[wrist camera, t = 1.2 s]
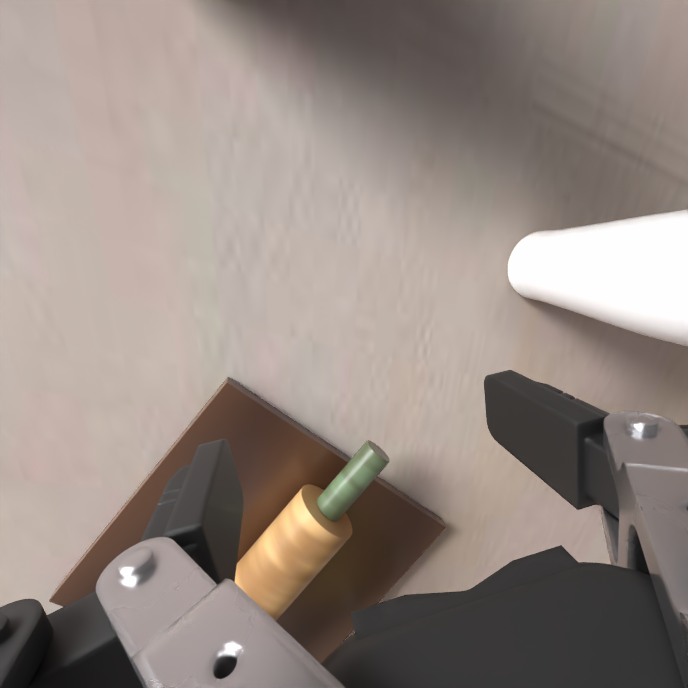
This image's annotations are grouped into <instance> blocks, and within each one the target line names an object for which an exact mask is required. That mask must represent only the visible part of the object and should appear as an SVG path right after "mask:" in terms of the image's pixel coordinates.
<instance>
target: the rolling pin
mask: <svg viewBox="0 0 688 688" xmlns="http://www.w3.org/2000/svg"><path fill="white" fill-rule="evenodd" d="M389 461H390V460H389V458H388V456H387V455H386V453H385V452H384V451H383V450H382V449H381V448H380V447H379V446H377V445H376V444H375V443H373V442H371V441H369V440H368V441H366V443H365V444H364V445H363V446H362V447H361V448H360V450H359V451H358V452H357V453H356V454H355V455H354V457H353V458H352V459H351V460H350V461H349V462H348V463H347V465H346V466H345V467H344V468H343V469H342V470H341V472H340V473H339V474H338V475H337V476H336V477H335V479H334V480H333V481H332V482H331V483H330V484H329V485H328V487H327V488H326V489H325V490H323V489H321V488H319V487H317V486H315V485H310V484H308V485H304V486H303V487H302V488H301V489H300V491H299V492H298V493H297V494H296V495H295V496H294V498H293V499H292V500H291V501H290V502H289V503H288V505H287V506H286V507H285V508H284V509H283V510H282V512H281V513H280V514H279V515H278V516H277V517H276V519H275V520H274V521H273V522H272V523H271V524H270V526H269V527H268V528H267V529H266V530H265V531H264V533H263V534H262V535H261V536H260V537H259V538H258V540H257V541H256V542H255V543H254V544H253V545H252V547H251V548H250V549H249V550H248V551H247V552H246V554H245V555H244V556H243V557H242V558H241V559H240V561H239V562H238V563H237V566H236V575H235V583H236V584H237V585H238V586H239V587H240V588H241V589H242V590H243V591H244V592H245V593H246V594H247V595H248V596H249V597H250V598H251V599H253V600H254V601H255V602H256V603H257V604H258V605H259V606H260V607H261V608H262V609H263V610H264V611H265V612H266V613H267V614H268V615H269V616H271V617H272V618H273V619H274V620H275V621H277V620H278V618H279V617H280V616H281V615H282V614H283V613H284V612H285V611H286V609H287V608H288V607H289V606H290V605H291V604H292V603H293V601H294V600H295V599H296V598H297V597H298V596H299V595H300V594H301V592H302V591H303V590H304V589H305V588H306V587H307V586H308V584H309V583H310V582H311V581H312V580H313V579H314V578H315V577H316V575H317V574H318V573H319V572H320V571H321V570H322V569H323V567H324V566H325V565H326V564H327V563H328V562H329V561H330V559H331V558H332V557H333V556H334V555H335V554H336V553H337V552H338V550H339V549H340V548H341V547H342V546H343V545H344V544H345V542H346V541H347V540H348V539H349V538H350V537H351V535H352V525H351V522H350V519H349V517H348V516H347V514H346V511H347V510H348V509H349V508H350V506H351V505H352V504H353V503H354V502H355V501H356V500H357V498H358V497H359V496H360V495H361V494H362V493H363V492H364V490H365V489H366V488H367V487H368V486H369V485H370V484H371V482H372V481H373V480H374V479H375V478H376V477H377V476H378V474H379V473H380V472H381V471H382V470H383V469H384V468H385V466H386V465H387V464H388V463H389Z"/></svg>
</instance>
